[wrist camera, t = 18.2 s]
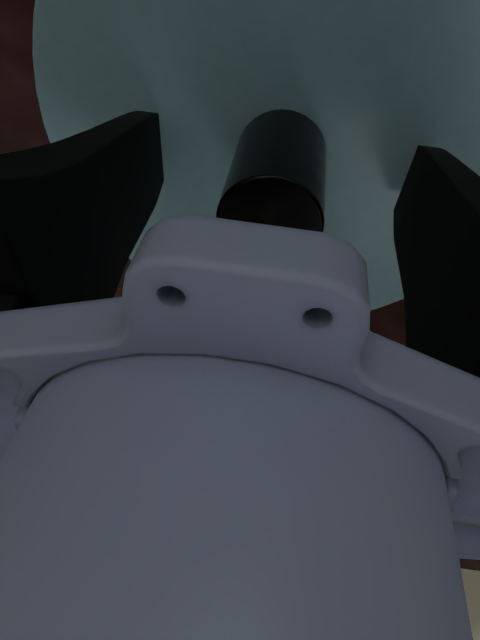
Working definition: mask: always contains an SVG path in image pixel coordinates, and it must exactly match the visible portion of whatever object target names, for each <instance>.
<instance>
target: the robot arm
mask: <svg viewBox="0 0 480 640" xmlns="http://www.w3.org/2000/svg"><path fill="white" fill-rule="evenodd" d="M163 182H164V172H163V160H162V148H161V136H160V124H159V113H154V112H146V111H138V110H137V111H132V112H129V113H126V114H124V115H121V116H119V117H116V118H114V119H112V120H109V121H107V122H105V123H102V124H100V125H98V126H95V127H93V128H91V129H88V130H86V131H83V132H81V133H78V134H75V135H73V136H70V137H68V138H65V139H62V140H59V141H56V142H53V143H50V144H47V145H43V146H39V147H35V148H31V149H27V150H23V151H17V152H11V153H6V154H0V640H473V638H472V632H471V626H470V621H469V615H468V609H467V603H466V597H465V592H464V586H463V580H462V574H461V568H460V562H459V558H462V559H475V560H480V176H479V175H478V174H476V173H475V172H474V171H473V170H471V169H470V168H469V167H468V166H466V165H465V164H464V163H463V162H461V161H460V160H459V159H457V158H456V157H455V156H453V155H452V154H451V153H449V152H448V151H446V150H444V149H442V148H438V147H429V146H421V145H418V147H417V149H416V152H415V155H414V157H413V160H412V163H411V165H410V168H409V170H408V173H407V176H406V178H405V181H404V184H403V186H402V189H401V192H400V194H399V197H398V199H397V202H396V205H395V207H394V212H393V233H394V244H395V250H396V256H397V261H398V267H399V272H400V278H401V283H402V289H403V295H404V302H405V316H406V346H404V345H401V344H399V343H397V342H394V341H392V340H390V339H387V338H385V337H383V336H380V335H378V334H376V333H373V332H371V331H369V330H370V301H369V287H368V274H367V262H366V261H365V260H364V259H363V257H362V256H361V255H360V254H359V252H358V251H357V250H356V249H355V247H354V246H353V245H352V244H351V243H350V242H347V241H345V240H342V239H339V238H337V237H334V236H331V235H329V234H326V233H323V232H317V231H310V230H303V229H295V228H288V227H281V226H273V225H266V224H259V223H251V222H244V221H237V220H229V219H222V218H215V217H207V216H200V215H193V214H192V215H182V216H171V217H164V218H162V219H161V220H160V221H159V222H157V223H156V224H155V225H154V226H152V227H151V228H150V229H148V230H147V231H146V232H145V234H144V236H143V238H142V240H141V242H140V244H139V246H138V248H137V250H136V252H135V254H134V256H133V258H132V260H131V262H130V265H129V267H128V269H127V271H126V273H125V279H124V285H123V291H122V295H123V297H114V295H115V292H116V290H117V287H118V284H119V281H120V279H121V276H122V273H123V270H124V268H125V265H126V263H127V261H128V259H129V257H130V255H131V253H132V251H133V249H134V247H135V245H136V243H137V241H138V239H139V237H140V235H141V234H142V232H143V230H144V228H145V226H146V224H147V222H148V220H149V218H150V216H151V214H152V212H153V210H154V208H155V206H156V204H157V201H158V198H159V195H160V192H161V188H162V185H163Z"/></svg>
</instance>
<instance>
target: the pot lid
mask: <svg viewBox="0 0 480 640" xmlns="http://www.w3.org/2000/svg"><path fill="white" fill-rule="evenodd" d="M32 55H33V65H34V74H35V84H36V92H37V96H38V101H39V105H40V110H41V114H42V119H43V123H44V126H45V129H46V132H47V135H48V138H49V141H50V143H53V142H56V141H59V140H62V139H65V138H68V137H70V136H73V135H75V134H78V133H81V132H83V131H86V130H88V129H91V128H93V127H95V126H98V125H100V124H102V123H105V122H107V121H109V120H112V119H114V118H116V117H119V116H121V115H124V114H126V113H129V112H132V111H137V110H138V111H146V112H154V113H159V124H160V136H161V148H162V160H163V172H164V182H163V185H162V188H161V192H160V195H159V198H158V201H157V204H156V206H155V208H154V210H153V212H152V214H151V216H150V218H149V220H148V222H147V224H146V226H145V228H144V230H143V232H142V234H141V235H140V237H139V239H138V241H137V243H136V245H135V247H134V249H133V251H132V253H131V255H130V257H129V259H130V260H132V258H133V256H134V254H135V252H136V250H137V248H138V246H139V244H140V242H141V240H142V238H143V236H144V234H145V232H146V231H147V230H148V229H150V228H151V227H152V226H154V225H155V224H156V223H157V222H159V221H160V220H161V219H162V218H164V217H171V216H182V215H192V214H193V215H200V216H207V217H215V218H222V219H229V220H237V221H244V222H251V223H259V224H266V225H273V226H281V227H288V228H295V229H303V230H310V231H317V232H323V233H326V234H329V235H331V236H334V237H337V238H339V239H342V240H345V241H347V242H350V243H351V244H352V245H353V246H354V247H355V249H356V250H357V251H358V252H359V254H360V255H361V256H362V257H363V259H364V260H365V261H366V262H367V274H368V287H369V301H370V310H374V309H377V308H380V307H383V306H386V305H388V304H391V303H394V302H397V301H399V300H402V299H404V295H403V289H402V283H401V278H400V272H399V267H398V261H397V256H396V250H395V244H394V233H393V212H394V207H395V205H396V202H397V199H398V197H399V194H400V192H401V189H402V186H403V184H404V181H405V178H406V176H407V173H408V170H409V168H410V165H411V163H412V160H413V157H414V155H415V152H416V149H417V147H418V145H421V146H429V147H438V148H442V149H444V150H446V151H448V152H449V153H451V154H452V155H453V156H455V157H456V158H457V159H459V160H460V161H461V162H463V163H464V164H465V165H466V166H468V167H469V168H470V169H471V170H473V171H474V172H475V173H476V174H478V175H479V176H480V0H36V1H35V7H34V14H33V53H32Z"/></svg>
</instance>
